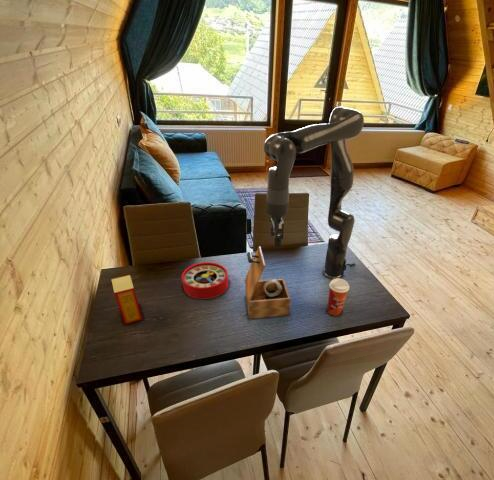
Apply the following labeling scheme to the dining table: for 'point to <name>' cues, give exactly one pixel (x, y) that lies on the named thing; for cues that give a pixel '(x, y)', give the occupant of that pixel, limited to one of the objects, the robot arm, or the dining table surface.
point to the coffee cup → (337, 296)
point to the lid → (254, 271)
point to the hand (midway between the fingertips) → (275, 240)
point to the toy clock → (205, 280)
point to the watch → (272, 293)
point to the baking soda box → (126, 299)
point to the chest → (268, 301)
